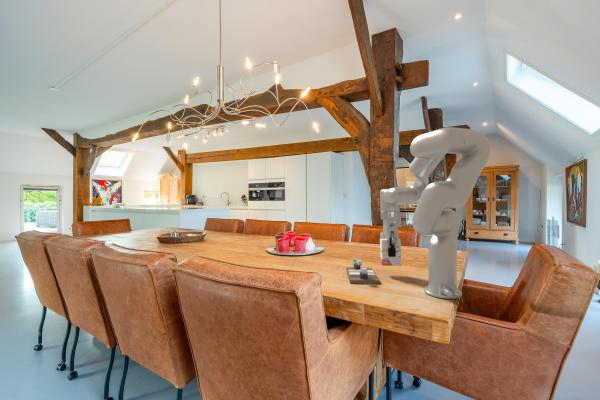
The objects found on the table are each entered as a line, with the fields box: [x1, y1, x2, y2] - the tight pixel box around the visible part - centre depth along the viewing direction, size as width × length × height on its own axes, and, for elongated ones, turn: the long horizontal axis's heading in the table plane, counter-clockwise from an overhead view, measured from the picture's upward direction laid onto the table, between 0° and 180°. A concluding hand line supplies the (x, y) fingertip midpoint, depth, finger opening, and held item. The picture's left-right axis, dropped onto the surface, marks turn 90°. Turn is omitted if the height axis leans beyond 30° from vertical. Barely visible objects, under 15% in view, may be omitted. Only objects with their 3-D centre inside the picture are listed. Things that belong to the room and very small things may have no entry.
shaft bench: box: [345, 257, 380, 285], centre depth 131 cm, size 21×12×6 cm, turn 175°
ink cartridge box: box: [379, 231, 402, 267], centre depth 133 cm, size 9×5×15 cm, turn 84°
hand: (390, 255), depth 133 cm, fingers closed on ink cartridge box, 5 cm apart
